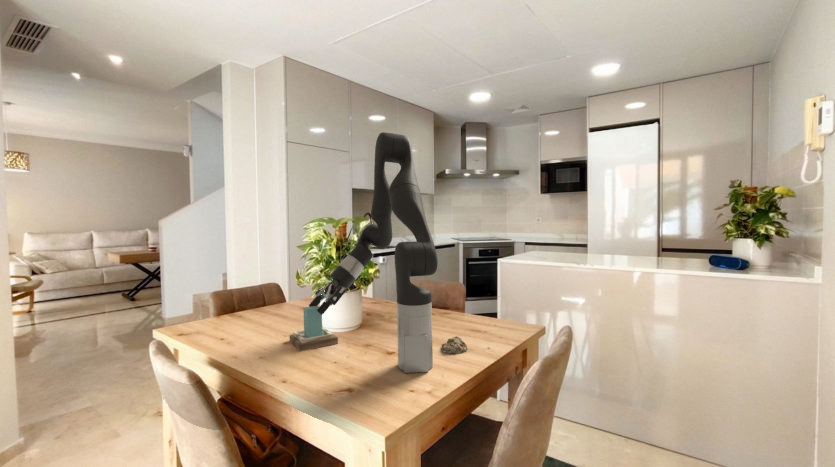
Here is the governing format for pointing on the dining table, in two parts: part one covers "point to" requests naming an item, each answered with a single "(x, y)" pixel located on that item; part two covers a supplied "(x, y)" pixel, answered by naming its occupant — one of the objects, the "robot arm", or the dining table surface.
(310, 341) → the block
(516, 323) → the dining table surface
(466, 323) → the dining table surface
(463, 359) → the dining table surface
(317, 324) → the teal block
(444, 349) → the mineral rock
